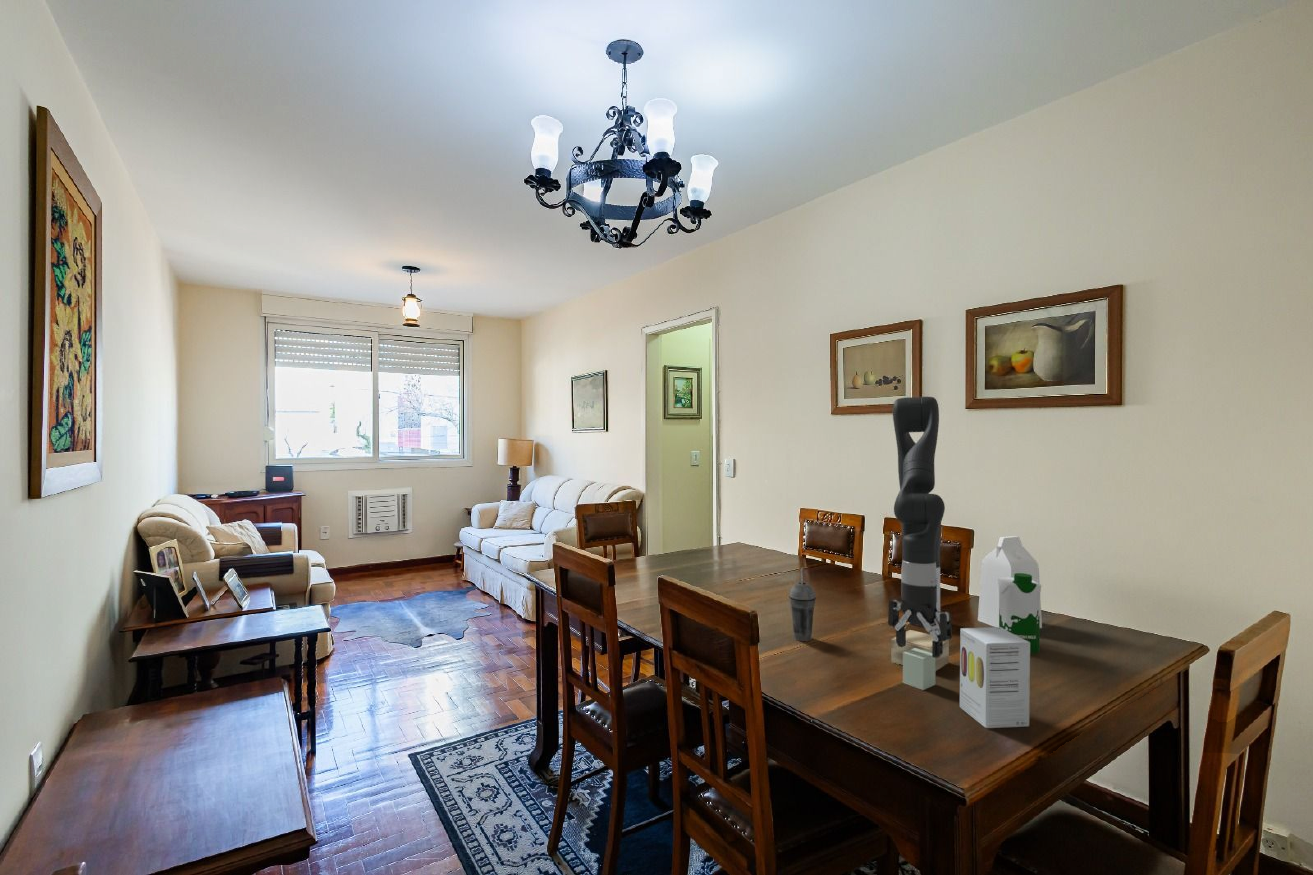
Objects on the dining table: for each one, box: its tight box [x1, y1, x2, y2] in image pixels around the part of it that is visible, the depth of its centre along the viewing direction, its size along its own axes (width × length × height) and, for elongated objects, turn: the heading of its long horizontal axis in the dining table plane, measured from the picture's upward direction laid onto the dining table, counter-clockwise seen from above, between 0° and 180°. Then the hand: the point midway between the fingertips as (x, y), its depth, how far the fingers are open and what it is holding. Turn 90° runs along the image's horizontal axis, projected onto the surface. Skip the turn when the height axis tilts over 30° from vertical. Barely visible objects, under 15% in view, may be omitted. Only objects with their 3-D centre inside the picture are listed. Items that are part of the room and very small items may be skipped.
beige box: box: [890, 629, 950, 672], centre depth 154 cm, size 10×10×6 cm
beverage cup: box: [789, 567, 817, 642], centre depth 171 cm, size 7×7×20 cm
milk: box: [977, 535, 1043, 629], centre depth 183 cm, size 12×12×26 cm
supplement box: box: [959, 626, 1031, 729], centre depth 125 cm, size 10×9×17 cm
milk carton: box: [998, 573, 1042, 654], centre depth 163 cm, size 9×9×20 cm
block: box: [902, 648, 936, 691], centre depth 141 cm, size 5×5×7 cm
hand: (918, 651), depth 141 cm, fingers open, 8 cm apart
